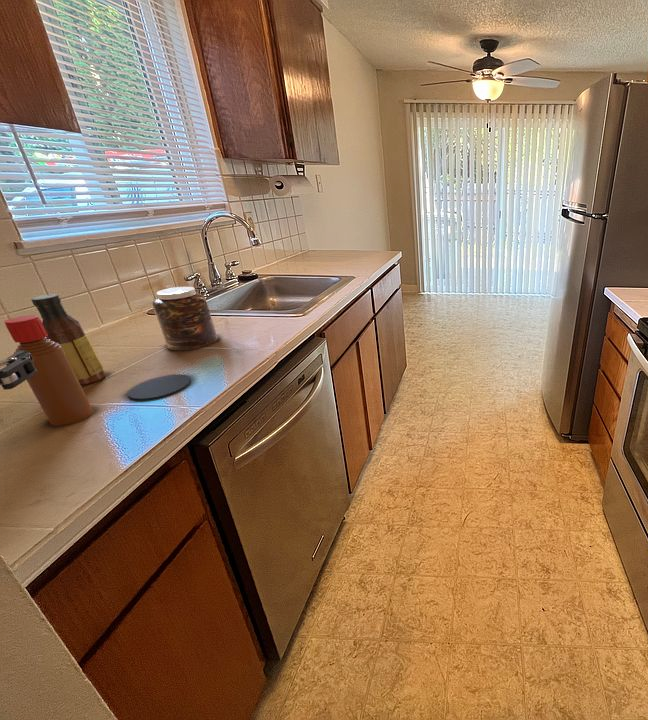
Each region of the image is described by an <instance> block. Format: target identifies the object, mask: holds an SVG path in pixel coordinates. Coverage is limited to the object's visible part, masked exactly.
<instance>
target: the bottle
mask: <svg viewBox="0 0 648 720" xmlns="http://www.w3.org/2000/svg"><path fill="white" fill-rule="evenodd" d="M22 350H27V351H28V353H29V352H30V354H31V356H32V358H33V360H34V362H33V365H34V367H35V369H36V370H37V373H36V374H34V375H33V376H31V377H30V378H28V379H27V380H26V382H27V383H28V385H29V387H30V389H31V391H32V393H33V395H34V396H35V398H36V400H37V403H39V405H40V408H41V409H42V411H43V413H44V414H45V417H46V418H47V420H48V422H49V423H50V425H51V426H55V427H59V426H67V425H72V424H74V423H78V422H80V421H83V420H84V419H86V418H88V417H90V416H91V415H93V413H94V410H93V408H92V406H91V404H90V402H89V400H88V397H87V396H86V393H85V391H84V389H83V388H82V385H80V383H79V381H78V379H77V377H76V375H75V373H74V371H73V369H72V367H71V365H70V363H69V361H68V359H67V357H66V354H65V352H64V350H63V348H62V346H61V345H59V344H58V343H55V342H54V341H50V339H46V338H42V339H39V340H35V341H30V342H21V343H19V344H18V345H17V348H16V349H15V351H14V352H13V354H15V353H16V352H18V351H22Z"/></svg>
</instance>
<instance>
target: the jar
mask: <svg viewBox="0 0 648 720" xmlns="http://www.w3.org/2000/svg"><path fill="white" fill-rule="evenodd" d="M156 296H157V298H156V299H154V300H153V301H152V307H153V308H152V309H153V311H154V314H155V317H156V320H157V322H158V325H159V328H160V331H161V334H162V337H163V339H164V342H165V345H166V347H167V349H169V350H171V351H190V350H191V351H192V350H195V349H196V350H197V349H200V348H204V347H207V346H209V345H212V344H214V343H216V342H217V341H218V339H219V337H218V334H217V331H216V328H215V324H214V321H213V318H212V314H211V312H210V309H209V305H208V302H207V300H206V298H205V297H206V296H204V294H201V293H198V292H197V291H196V288H195V287H193V286H176V287H169V288H164V289H160V290H157V291H156Z"/></svg>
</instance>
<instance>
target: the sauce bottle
mask: <svg viewBox="0 0 648 720" xmlns="http://www.w3.org/2000/svg"><path fill="white" fill-rule="evenodd" d="M30 300H31V302H32V304H33V306H35V308H36V309H37V311H38V312H39V315H40V318H41V320H42V321H41V322H42V324H43V326H44V328H45V330H46V332H47V335H48V336H46V337H45V338H46V339H50V341H54V342H55V343H58V344H59V345H61V346H62V348H63V350H64V352H65V354H66V357H67V359H68V361H69V363H70V365H71V367H72V369H73V371H74V373H75V375H76V377H77V379H78V381H79V383H80V385H81V386H84V385H85V386H86V385H89V384H93V383H96V382H98V381H101V380H102V379H104V378H105V377H106V372H105V370H104V367H103V364H102V362H101V360H100V359H99V357H98V355H97V353H96V351H95V348H94V346H93V345H92V343H91V341H90V339H89V338H88V336H87V334H86V333H85V331H84V329H83V327H82V325H81V323H80V322H79V321H78V320H76V319H75V318H74V317H73V316H72V315H70V314H68V313H67V311H66V310H65V308H64V306H63V304H62V299H61V297H60V296H59V295H58V294H57V293H51V294H42V295H37V296H34V297H32V298H31V299H30Z"/></svg>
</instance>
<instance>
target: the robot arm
mask: <svg viewBox="0 0 648 720" xmlns="http://www.w3.org/2000/svg"><path fill="white" fill-rule="evenodd" d="M33 362H34V360H33V358H32V356H31V354H30V352H29V353H28V351H27V350H22V351H18V352H16V353H15V354H14V353H13V354H11V355H9V356H8V357H7V358H5V359H1V360H0V386H1V387H2V389H3V390H4V391H5V390H12V389H14V388H16V387H17V386H19V385H21V384H22V383H23V382H26V381H27V379H28V378H30V377H31V376H33V375H34V374H36V373H37V370H36V369H35V367H34V365H33ZM1 367H2V368H1Z"/></svg>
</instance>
